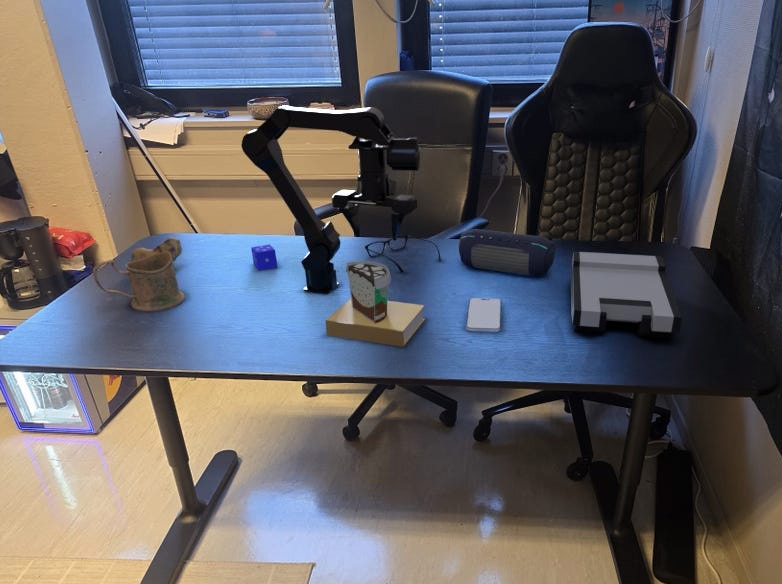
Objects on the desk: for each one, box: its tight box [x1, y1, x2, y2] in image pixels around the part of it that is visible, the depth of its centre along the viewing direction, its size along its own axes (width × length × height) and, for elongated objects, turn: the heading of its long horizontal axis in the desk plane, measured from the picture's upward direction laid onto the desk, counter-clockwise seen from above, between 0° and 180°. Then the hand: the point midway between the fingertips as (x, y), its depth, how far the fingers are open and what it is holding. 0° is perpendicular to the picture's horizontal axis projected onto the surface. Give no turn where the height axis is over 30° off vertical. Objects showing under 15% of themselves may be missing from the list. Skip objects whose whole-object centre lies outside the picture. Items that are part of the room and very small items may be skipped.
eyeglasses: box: [364, 234, 442, 274], centre depth 170 cm, size 16×16×4 cm
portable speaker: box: [458, 228, 556, 277], centre depth 161 cm, size 25×10×10 cm, turn 68°
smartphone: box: [465, 297, 502, 333], centre depth 139 cm, size 7×1×15 cm
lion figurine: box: [130, 236, 183, 263], centre depth 160 cm, size 15×5×9 cm, turn 103°
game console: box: [570, 251, 683, 339], centre depth 139 cm, size 21×32×8 cm, turn 171°
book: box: [325, 297, 426, 348], centre depth 133 cm, size 17×13×4 cm
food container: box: [345, 260, 392, 323], centre depth 130 cm, size 12×6×10 cm, turn 37°
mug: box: [92, 251, 186, 312], centre depth 141 cm, size 12×18×12 cm, turn 137°
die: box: [250, 244, 278, 272], centre depth 165 cm, size 5×5×5 cm
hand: (376, 238), depth 146 cm, fingers open, 9 cm apart
